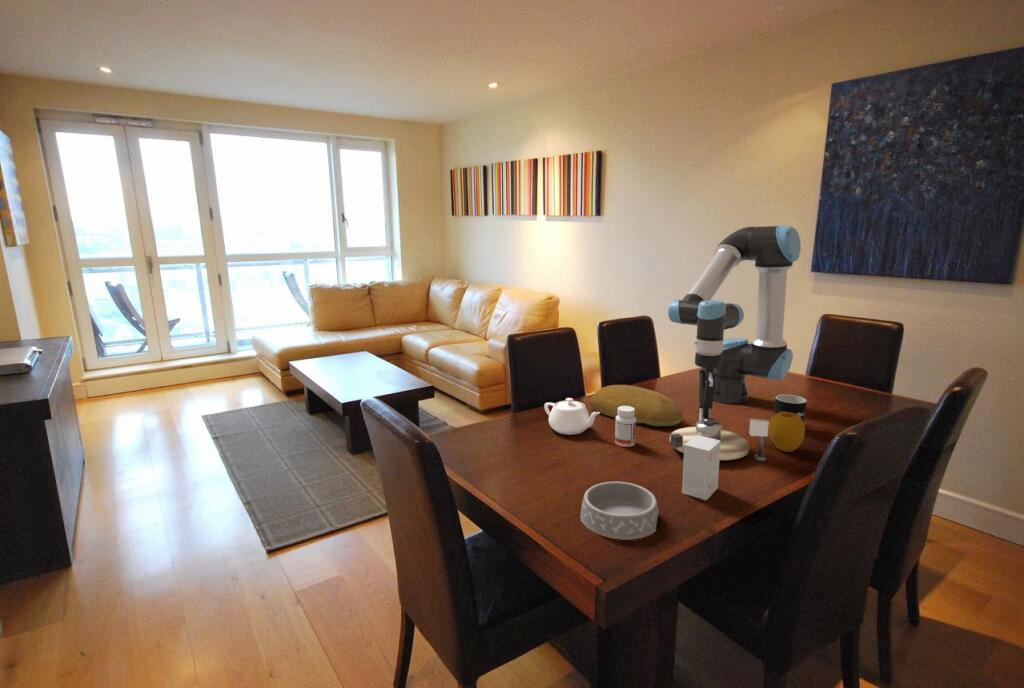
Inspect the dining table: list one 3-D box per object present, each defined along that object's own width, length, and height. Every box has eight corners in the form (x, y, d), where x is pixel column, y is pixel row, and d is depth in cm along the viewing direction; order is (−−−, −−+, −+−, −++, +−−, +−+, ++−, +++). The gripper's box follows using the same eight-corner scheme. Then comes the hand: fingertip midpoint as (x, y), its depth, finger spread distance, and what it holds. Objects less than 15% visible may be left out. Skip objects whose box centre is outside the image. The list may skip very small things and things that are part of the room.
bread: (668, 435, 166) (670, 405, 164) (580, 410, 190) (580, 384, 188) (694, 419, 179) (696, 392, 177) (608, 399, 203) (609, 374, 200)
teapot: (532, 428, 173) (532, 397, 171) (556, 417, 183) (556, 388, 181) (587, 445, 159) (588, 411, 156) (611, 432, 169) (611, 400, 166)
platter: (652, 435, 160) (652, 423, 159) (715, 426, 166) (716, 414, 166) (696, 465, 139) (696, 451, 139) (766, 453, 146) (768, 439, 145)
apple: (758, 446, 155) (761, 409, 153) (781, 441, 159) (785, 404, 157) (786, 459, 147) (790, 419, 144) (810, 452, 150) (815, 414, 148)
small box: (693, 481, 135) (696, 434, 132) (718, 488, 131) (721, 440, 128) (680, 493, 129) (683, 444, 126) (706, 501, 125) (709, 450, 122)
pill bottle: (626, 438, 163) (627, 403, 161) (639, 445, 158) (640, 409, 156) (610, 441, 161) (611, 407, 158) (623, 448, 155) (624, 413, 153)
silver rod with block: (746, 456, 148) (749, 418, 146) (763, 457, 148) (767, 418, 145) (749, 461, 146) (752, 421, 143) (767, 462, 145) (770, 422, 142)
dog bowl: (573, 533, 113) (573, 510, 112) (590, 494, 130) (591, 474, 129) (654, 548, 107) (655, 524, 106) (661, 505, 124) (662, 484, 123)
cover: (690, 433, 158) (691, 416, 157) (711, 431, 160) (712, 414, 159) (704, 442, 151) (705, 424, 150) (725, 439, 153) (726, 422, 152)
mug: (794, 435, 163) (798, 405, 161) (767, 427, 170) (769, 398, 168) (813, 427, 169) (817, 397, 167) (786, 419, 177) (789, 391, 175)
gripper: (692, 347, 161) (687, 419, 166) (699, 357, 149) (694, 434, 154) (717, 348, 160) (712, 420, 165) (727, 358, 148) (721, 435, 153)
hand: (703, 427), depth 159 cm, fingers closed
